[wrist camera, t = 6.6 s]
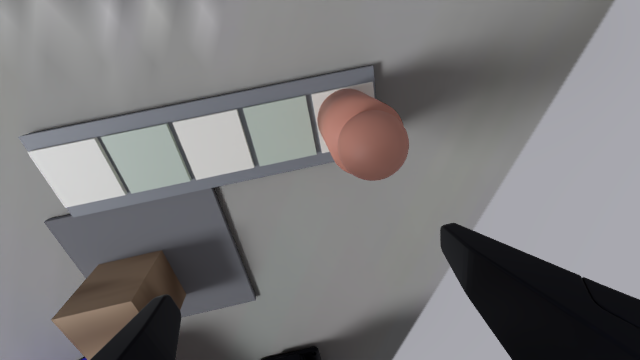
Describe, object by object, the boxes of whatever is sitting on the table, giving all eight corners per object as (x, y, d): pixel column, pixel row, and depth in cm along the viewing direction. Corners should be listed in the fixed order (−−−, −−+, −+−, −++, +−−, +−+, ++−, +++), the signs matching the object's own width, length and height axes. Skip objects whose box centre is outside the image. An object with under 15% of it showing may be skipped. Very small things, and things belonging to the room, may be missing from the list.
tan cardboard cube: (186, 294, 24) (164, 349, 20) (129, 307, 24) (94, 366, 19) (161, 249, 22) (130, 301, 17) (98, 264, 22) (51, 319, 17)
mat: (255, 296, 26) (255, 300, 25) (126, 326, 25) (124, 330, 25) (211, 184, 21) (210, 186, 20) (48, 219, 20) (44, 222, 20)
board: (377, 148, 21) (381, 153, 20) (79, 212, 20) (70, 219, 19) (370, 65, 18) (374, 66, 18) (27, 133, 18) (13, 138, 17)
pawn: (377, 141, 20) (428, 188, 13) (322, 152, 20) (345, 206, 13) (372, 83, 18) (428, 102, 11) (312, 95, 18) (332, 122, 11)
